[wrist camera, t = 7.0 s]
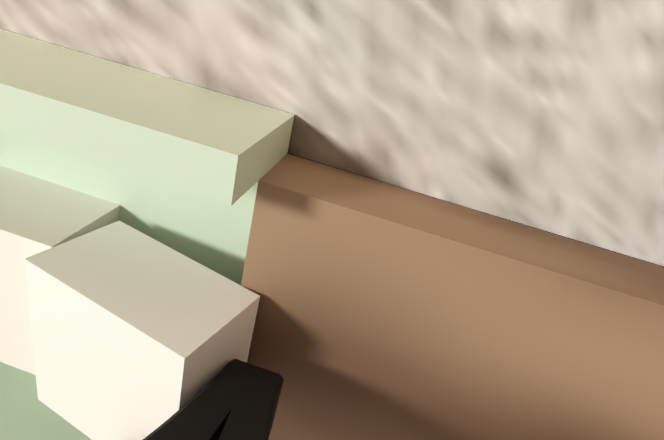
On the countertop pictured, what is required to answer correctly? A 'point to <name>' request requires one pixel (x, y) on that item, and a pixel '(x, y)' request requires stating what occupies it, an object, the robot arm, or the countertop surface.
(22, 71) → the tray
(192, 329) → the tile
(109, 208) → the tile
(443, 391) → the board
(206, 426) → the robot arm
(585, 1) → the countertop surface
